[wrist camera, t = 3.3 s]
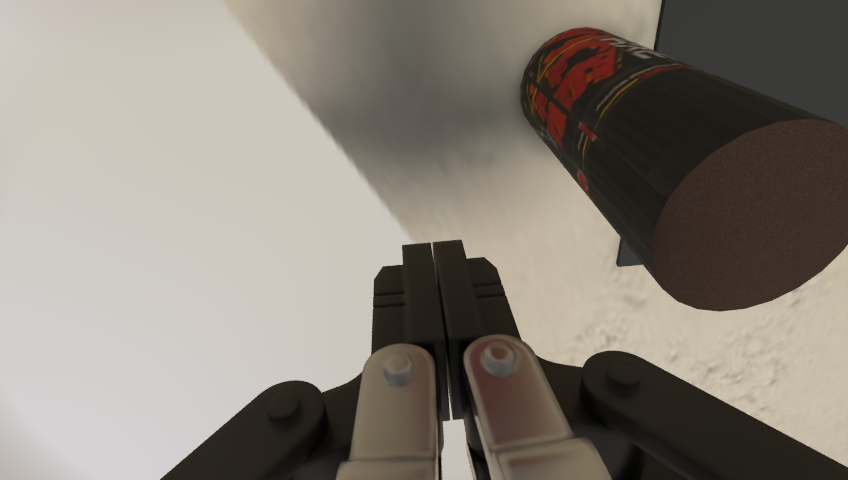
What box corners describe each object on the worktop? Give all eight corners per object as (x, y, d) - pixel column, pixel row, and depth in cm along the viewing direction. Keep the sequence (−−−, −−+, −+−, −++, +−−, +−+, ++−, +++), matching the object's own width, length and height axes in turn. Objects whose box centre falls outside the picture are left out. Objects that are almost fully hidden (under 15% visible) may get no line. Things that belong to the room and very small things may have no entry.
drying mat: (680, -101, 22) (683, -101, 21) (1002, -125, 22) (1008, -125, 22) (616, 264, 32) (618, 266, 32) (834, 244, 33) (838, 246, 32)
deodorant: (630, 14, 24) (905, 92, 11) (629, 127, 27) (845, 287, 14) (514, 43, 24) (653, 150, 12) (526, 151, 28) (647, 328, 15)
